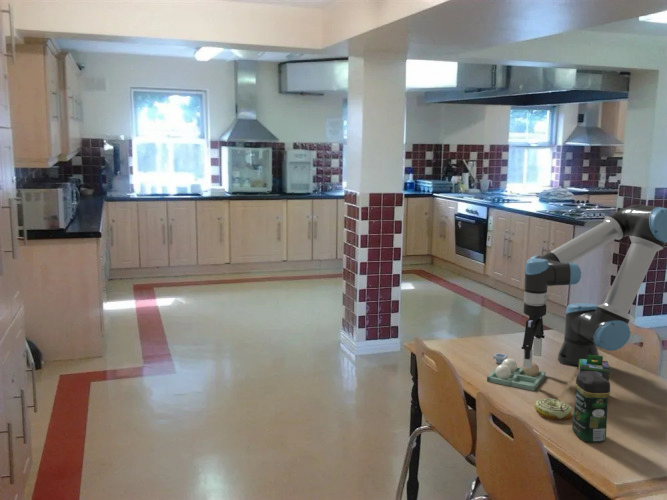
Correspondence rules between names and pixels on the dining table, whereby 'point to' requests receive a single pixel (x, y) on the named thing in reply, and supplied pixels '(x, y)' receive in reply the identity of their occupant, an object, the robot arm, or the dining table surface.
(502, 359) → the egg cup
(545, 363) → the dining table surface
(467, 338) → the dining table surface
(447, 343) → the dining table surface
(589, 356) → the chalk box
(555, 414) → the decorated donut
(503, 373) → the cream egg
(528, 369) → the brown egg
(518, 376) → the carton
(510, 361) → the cream egg
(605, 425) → the coffee jar
